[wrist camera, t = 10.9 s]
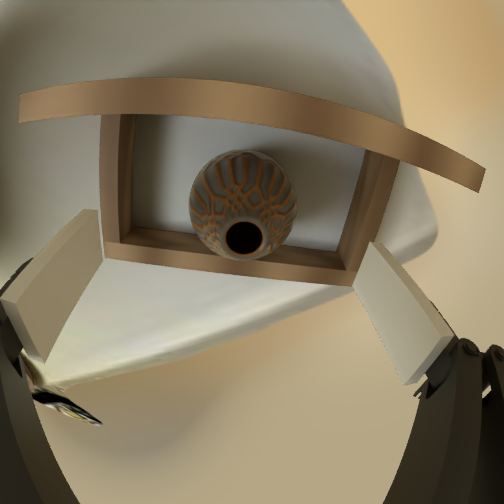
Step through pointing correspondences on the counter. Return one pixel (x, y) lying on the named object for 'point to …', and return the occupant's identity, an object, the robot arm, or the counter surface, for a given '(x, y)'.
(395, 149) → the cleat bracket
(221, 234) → the vase
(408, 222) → the counter surface
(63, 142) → the counter surface
